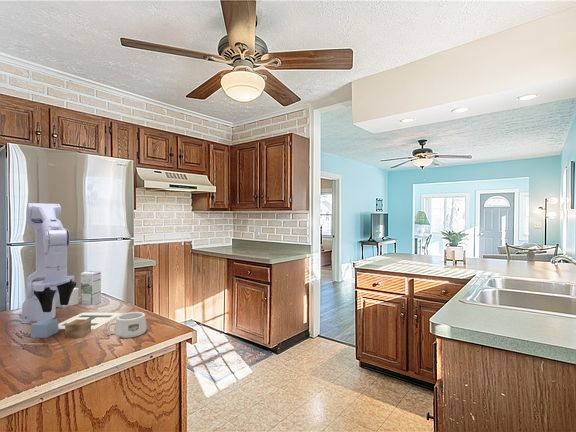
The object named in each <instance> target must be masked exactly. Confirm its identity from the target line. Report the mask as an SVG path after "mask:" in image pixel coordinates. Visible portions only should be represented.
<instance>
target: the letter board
mask: <svg viewBox="0 0 576 432" xmlns="http://www.w3.org/2000/svg"><path fill="white" fill-rule="evenodd" d="M121 314H123V312H80V313H79V314H77V315H74V316H72V317H70V318H67V319H66V320H64V321H62V322H59V324H58V330H65V325H66V324H68V323H70V322H72V321H74V320H76V319H91V330H96V329H98V328H99V327H101V326H103V325H104V324H106V323H108V322H111V321H112V320H113V319H116V318H117V316H119V315H121Z"/></svg>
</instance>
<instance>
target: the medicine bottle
mask: <svg viewBox="0 0 576 432" xmlns="http://www.w3.org/2000/svg"><path fill="white" fill-rule="evenodd" d="M73 282H75V280H74V281H73ZM79 299H80V288H79V287H75V288H74V289H73V291H72V293H71V296H70V300H69V303H68V305H60V297H59V293H58V294H57V296H56V308H61V309H65V308H67V307H69V306H75V305H79V301H80V300H79Z"/></svg>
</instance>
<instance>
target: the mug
mask: <svg viewBox="0 0 576 432" xmlns="http://www.w3.org/2000/svg"><path fill="white" fill-rule="evenodd" d="M115 319H116V320H115V321H110V322H109V323H108V324H107V326H106V332H107V334H110V335H115V336H118V338H120V339H129V338H135V337H138V336H141V335H144V334H145V333H146V331H147V327H148V326H147V319H146V314H145V313H144V312H141V311H130V312H125V313H122V314H120V315H118V316H116V317H115ZM112 325H114V326H115V327H114V331H111V330H110V328H111V326H112Z"/></svg>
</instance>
